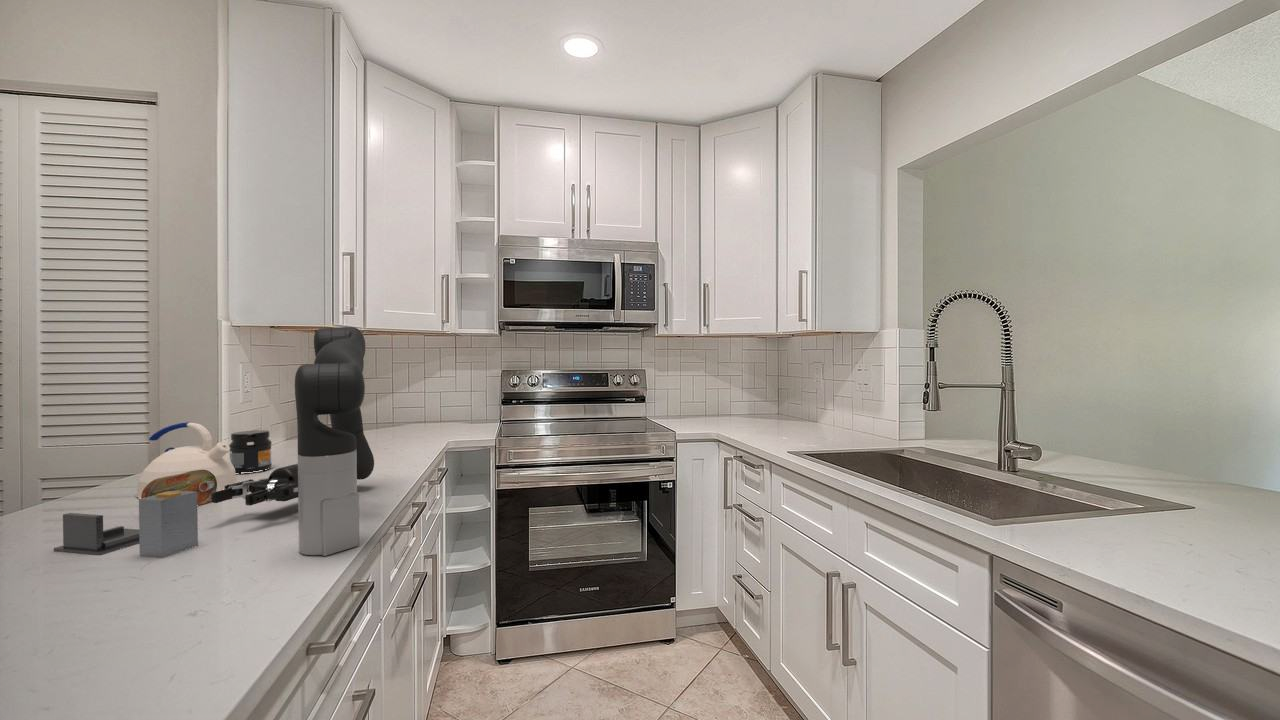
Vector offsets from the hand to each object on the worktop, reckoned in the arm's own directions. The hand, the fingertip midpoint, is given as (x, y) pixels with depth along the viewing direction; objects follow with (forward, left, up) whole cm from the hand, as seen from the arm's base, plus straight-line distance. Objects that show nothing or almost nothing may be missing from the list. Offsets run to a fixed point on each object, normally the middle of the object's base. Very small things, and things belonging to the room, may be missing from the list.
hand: (229, 499), depth 105 cm
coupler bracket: (+11, +15, -6) cm, 19 cm away
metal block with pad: (-4, +11, -6) cm, 13 cm away
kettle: (+49, -8, -7) cm, 50 cm away
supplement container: (+62, -27, -6) cm, 68 cm away
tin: (+28, 0, -6) cm, 29 cm away
